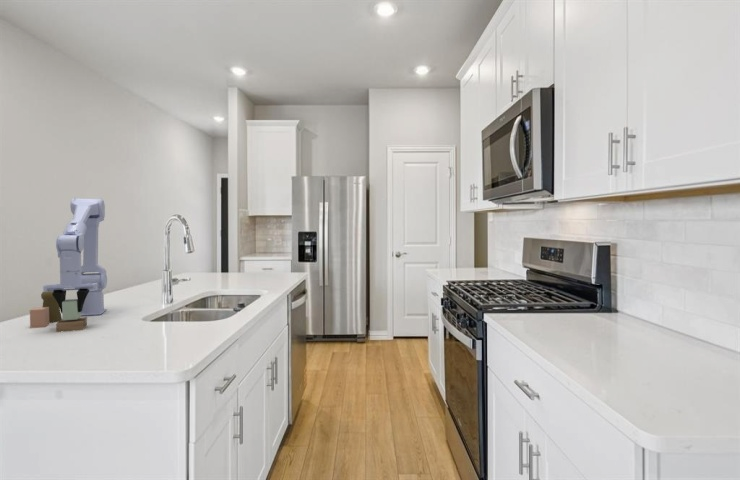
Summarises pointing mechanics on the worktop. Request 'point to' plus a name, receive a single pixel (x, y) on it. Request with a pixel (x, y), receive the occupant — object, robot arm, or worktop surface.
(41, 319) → the terracotta block
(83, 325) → the walnut board
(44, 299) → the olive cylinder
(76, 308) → the sage block
